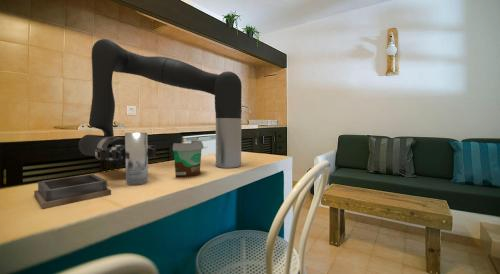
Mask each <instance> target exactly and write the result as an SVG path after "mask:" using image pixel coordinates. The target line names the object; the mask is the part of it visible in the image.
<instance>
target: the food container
mask: <svg viewBox="0 0 500 274" xmlns="http://www.w3.org/2000/svg"><path fill="white" fill-rule="evenodd" d="M204 148H205V147H204V143H203V140H195V139H193V140H190V142H181V143H178V142H177V143H175V142H174V143H173V145H172V152H173V161H174V171H175V178H177V179H180V178H181V179H182V178H191V177H193V178H194V177H196V176H199V175H201V163H202V150H203V149H204Z"/></svg>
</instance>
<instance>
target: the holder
mask: <svg viewBox="0 0 500 274" xmlns="http://www.w3.org/2000/svg"><path fill="white" fill-rule="evenodd" d="M33 194H34V197H35V199H36V200H37V201H38V204H39V205H40V207H41V208H42V210H44V209H47V208H48V209H49V208H53V207H58V206H62V205H68V204H73V203H77V202H81V201H87V200H92V199H96V198H101V197H105V196H111V195H112V189H110V188H108V184H107V180H105V179H104V178H102V177H100V176H98V175H95V174H94V173H90V174H83V175H75V176H68V177H62V178H61V177H60V178H55V179H48V180H41V181H37V190H34V191H33Z"/></svg>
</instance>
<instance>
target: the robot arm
mask: <svg viewBox="0 0 500 274" xmlns="http://www.w3.org/2000/svg"><path fill="white" fill-rule="evenodd" d="M91 68H92V70H91V74H92V97H91V106H90V112H89V120H88V124H89V127H91V128H94V129H97V130H101V131H102V132H103V135H100V134H99V135H97V134H85V135H83V136H81V138H80V140H79V142H78V149H79V151H80V153H81V154H83V155H85V156H89V157H90V156H91V157H94V158H95V159H97V160H99V161H101V162H103V161H109V162H112V163H116V164H123V163H126V158H125V137H118V136H115V135H114V119H115V113H116V112H115V111H116V110H115V109H116V100H115V94H114V91H113V74H114V73H121V74H129V75H134V76H135V75H136V76H141V77H143V78H146V79H147V80H148V79H149V80H151V81H154V82H157V83H161V84H163V85H168V86H171V87H176V88H180V89H187V90H192V91H200V92H204V93H208V94H211V95H213V96H214V111H215V112H214V113H215V166H216V167H218V168H225V169H226V168H227V169H228V168H229V169H230V168H231V169H232V168H238V167H241V166H242V92H243V91H242V89H243V88H242V81H241V78H240V76H238V75H237V74H236V73H235V72H232V71H223V72H222V73H220V74H217V73H212V72H208V71H205V70H202V69H200V68H198V67H196V66H195V65H191V64H190V63H188V62H187V63H186V62H184V61H181V60H178V59H176V58H170V57H166V56H145V55H141V54H138V53H135V52H132V51H130V50H127V49H125V48H123V47H121V46H120V45H119V44H117V43H115V42H114V41H112V40H111V39H106V38H101V39H98V40H97V41H95V43H94V44H93V45H92V49H91ZM156 156H157V150H156V145H150V144H148V157H151V158H154V157H156Z"/></svg>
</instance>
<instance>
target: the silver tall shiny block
mask: <svg viewBox="0 0 500 274" xmlns="http://www.w3.org/2000/svg"><path fill="white" fill-rule="evenodd" d="M124 138H125V158H126V162H125V184H126V185H128V186H134V185H135V186H137V185H143V184H144V185H145V184H147V183H148V182H149V156H148V145H149V144H148V132H124Z"/></svg>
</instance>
